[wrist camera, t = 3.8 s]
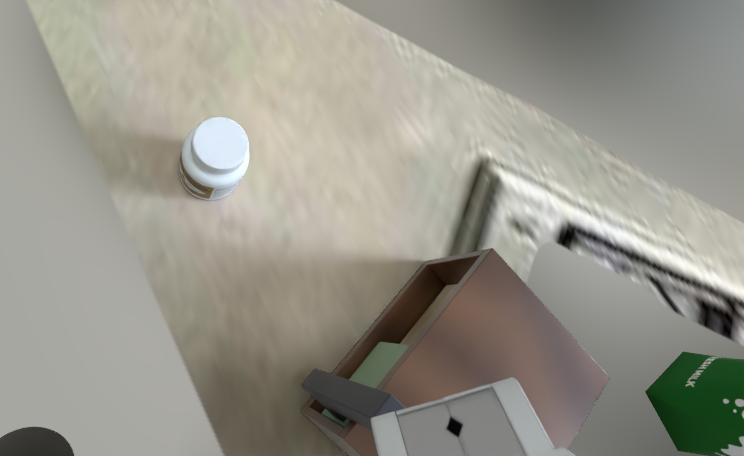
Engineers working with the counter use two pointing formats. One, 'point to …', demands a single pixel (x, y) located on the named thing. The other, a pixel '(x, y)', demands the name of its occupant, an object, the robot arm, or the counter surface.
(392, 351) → the sliding door
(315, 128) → the counter surface
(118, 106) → the counter surface
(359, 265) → the counter surface
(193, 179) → the pill bottle
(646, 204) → the counter surface
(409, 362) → the cupboard
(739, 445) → the milk carton
